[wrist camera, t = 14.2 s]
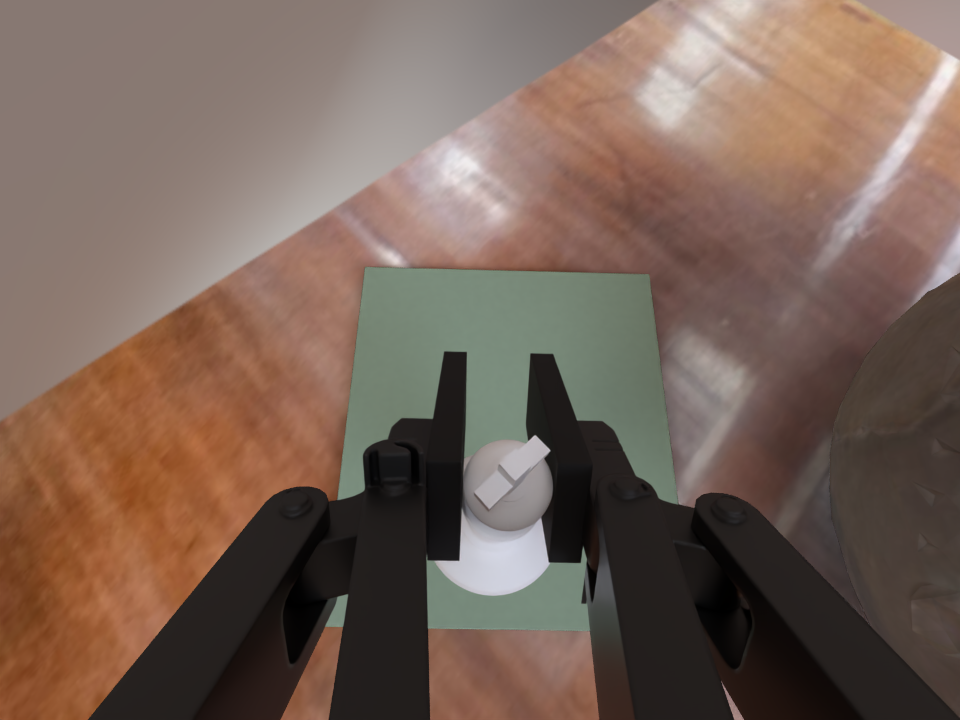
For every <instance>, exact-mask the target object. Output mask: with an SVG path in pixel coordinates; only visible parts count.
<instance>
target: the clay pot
mask: <svg viewBox="0 0 960 720" xmlns="http://www.w3.org/2000/svg"><path fill="white" fill-rule="evenodd" d="M829 490H830V503H831V516H832V521H833V524H834V528H835V531H836V534H837V538H838V541H839V544H840V548H841V551H842V554H843V558H844V561H845V564H846V568H847V571H848V575H849V578H850V581H851V583H852V586H853V588H854V590H855V592H856V595H857V597H858V599H859V601H860V604H861V606H862V608H863V610H864V613H865V615H866V617H867V619H868V621H869V624H870V626H871V627H872V628H873V629H874V630H875V631H876V632H877V633H878V634H879V635H880V636H881V637H882V638H883V639H884V640H885V642H886V643H887V644H888V645H889V646H890V647H891V648H892V649H893V650H894V651H895V652H896V653H897V654H898V655H899V656H900V657H901V658H902V659H903V660H904V661H905V662H906V663H907V664H908V665H909V666H910V667H911V668H912V669H913V670H914V671H915V672H916V673H917V674H918V675H919V676H920V677H921V679H922V680H923V681H924V682H925V683H926V684H927V685H928V686H929V687H930V688H931V689H932V690H933V691H934V692H935V693H936V694H937V695H938V696H939V697H940V698H941V699H942V700H943V701H944V702H945V703H946V704H947V705H948V706H949V707H950V708H951V709H952V710H953V711H954V712H955V713H956V715H957V716H958V717H959V718H960V273H959V274H957V275H955V276H954V277H952V278H951V279H949V280H948V281H946V282H945V283H943V284H942V285H940V286H938V287H937V288H935V289H933V290H931V291H928V292H927V293H926V294H925V295H924V296H923V297H922V298H921V299H920V300H919V301H918V302H917V303H916V304H915V305H913V306H912V307H911V308H910V309H909V310H908V311H907V312H906V313H905V314H903V315H902V316H901V317H900V318H899V319H898V320H897V321H896V322H895V323H893V324H892V325H891V326H890V327H889V329H888V330H887V331H886V332H885V333H884V335H883V336H882V337H881V338H880V339H879V341H878V342H877V343H876V344H875V345H874V347H873V348H872V349H871V350H870V352H869V353H868V354H867V356H866V357H865V359H864V361H863V363H862V365H861V367H860V369H859V370H858V371H857V373H856V375H855V377H854V379H853V381H852V383H851V385H850V387H849V389H848V391H847V393H846V395H845V397H844V399H843V401H842V403H841V405H840V407H839V410H838V414H837V417H836V420H835V424H834V430H833V436H832V443H831V449H830V483H829Z"/></svg>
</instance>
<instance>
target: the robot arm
mask: <svg viewBox="0 0 960 720" xmlns="http://www.w3.org/2000/svg"><path fill="white" fill-rule="evenodd" d="M466 382H467V352H453V351H444V355H443V361H442V367H441V373H440V379H439V385H438V391H437V397H436V403H435V409H434V415H433V419H428V418H401V419H400V420H399V421H398V422H396V423H395V424H394V425H393V426H392V427H391V430H390V433H389V436H388V439H386V440H382V441H379V442H376V443H373V444H372V445H371V446H369V447H368V448H366V450H365V452H364V453H363V468H364V483H365V489H364V491H363V492H362V493H360V494H357V495H355V496H352V497H349V498H345V499H340V500H335V501H330V502H329V501H328V498H327V495H326V494H325V493H324V492H323V491H321V490H320V489H317V488H313V487H294V488H290V489H286V490H283V491H281V492H279V493H277V494H275V495H273V496H272V497H271V498H270V499H269V500H268V501H266V502H265V504H264V505H263V506H262V507H261V509H260V510H259V511H258V512H257V513H256V515H255V516H254V517H253V518H252V520H251V521H250V522H249V523H248V524H247V526H246V527H245V528H244V529H243V531H242V532H241V533H240V534H239V535H238V537H237V538H236V539H235V540H234V542H233V543H232V544H231V545H230V546H229V548H228V549H227V550H226V551H225V553H224V554H223V555H222V556H221V557H220V559H219V560H218V561H217V562H216V564H215V565H214V566H213V567H212V568H211V570H210V571H209V572H208V573H207V575H206V576H205V577H204V578H203V579H202V581H201V582H200V583H199V584H198V586H197V587H196V588H195V589H194V591H193V592H192V593H191V594H190V595H189V597H188V598H187V599H186V600H185V602H184V603H183V604H182V605H181V606H180V608H179V609H178V610H177V611H176V613H175V614H174V615H173V616H172V617H171V619H170V620H169V621H168V622H167V624H166V625H165V626H164V627H163V628H162V630H161V631H160V632H159V633H158V635H157V636H156V637H155V638H154V639H153V641H152V642H151V643H150V644H149V646H148V647H147V648H146V649H145V650H144V652H143V653H142V654H141V655H140V657H139V658H138V659H137V660H136V661H135V663H134V664H133V665H132V666H131V668H130V669H129V670H128V671H127V672H126V674H125V675H124V676H123V677H122V679H121V680H120V681H119V682H118V683H117V685H116V686H115V687H114V688H113V690H112V691H111V692H110V693H109V694H108V696H107V697H106V698H105V699H104V701H103V702H102V703H101V704H100V706H99V707H98V708H97V709H96V710H95V712H94V713H93V714H92V715H91V717H90V718H89V719H88V720H280V719H281V717H282V715H283V713H284V711H285V709H286V707H287V705H288V703H289V701H290V699H291V697H292V694H293V692H294V690H295V688H296V686H297V684H298V682H299V680H300V678H301V676H302V674H303V671H304V669H305V667H306V665H307V663H308V661H309V659H310V657H311V655H312V653H313V651H314V649H315V646H316V644H317V642H318V640H319V638H320V636H321V634H322V632H323V630H324V628H325V626H326V624H327V621H328V619H329V617H330V615H331V613H332V611H333V609H334V607H335V605H336V601H337V597H339V596H343V595H347V594H348V599H347V605H346V612H345V618H344V625H343V631H342V638H341V644H340V651H339V657H338V663H337V670H336V676H335V683H334V689H333V696H332V702H331V709H330V715H329V720H430V697H429V651H428V604H427V560H428V561H460V540H461V518H462V489H463V474H464V452H465V430H466ZM526 431H527V437H528V441H529V440H530V439H531V438H532V437H533V436H535V435H536V436H537V437H538V438H539V439H540V440H541V441H542V442H543V443H544V444H545V445H546V446H547V447H548V448H549V449H550V450H551V451H550V452H549V454H548V455H547V456H546V457H545V458H544V459H545V461H546V462H547V464H548V466H549V469H550V471H551V475H552V479H553V493H552V498H551V501H550V504H549V506H548V508H547V510H546V511H545V513H544V514H543V516H542V517H541V520H542V526H543V532H544V538H545V543H546V549H547V555H548V561H549V563H581V558H582V550H583V547H584V551H585V554H586V558H587V562H586V570H585V578H584V585H583V593H582V601H581V604H586V602H587V607H588V616H589V626H590V635H591V645H592V654H593V664H594V673H595V683H596V692H597V702H598V711H599V720H734V718H733V715H732V712H731V709H730V706H729V703H728V700H727V697H726V694H725V691H724V689H723V686H722V683H723V685H724V686H725V688H726V690H727V691H728V693H729V695H730V696H731V698H732V700H733V701H734V703H735V705H736V706H737V708H738V710H739V712H740V713H741V715H742V717H743V718H744V720H960V718H959V717H958V716H957V715H956V713H955V712H954V711H953V710H952V709H951V708H950V707H949V706H948V705H947V704H946V703H945V702H944V701H943V700H942V699H941V698H940V697H939V696H938V695H937V694H936V693H935V692H934V691H933V690H932V689H931V688H930V687H929V686H928V685H927V684H926V683H925V682H924V681H923V680H922V679H921V677H920V676H919V675H918V674H917V673H916V672H915V671H914V670H913V669H912V668H911V667H910V666H909V665H908V664H907V663H906V662H905V661H904V660H903V659H902V658H901V657H900V656H899V655H898V654H897V653H896V652H895V651H894V650H893V649H892V648H891V647H890V646H889V645H888V644H887V643H886V642H885V640H884V639H883V638H882V637H881V636H880V635H879V634H878V633H877V632H876V631H875V630H874V629H873V628H872V627H871V626H870V625H869V624H868V623H867V622H866V621H865V620H864V619H863V618H862V617H861V616H860V615H859V614H858V613H857V612H856V611H855V610H854V609H853V608H852V607H851V606H850V604H849V603H848V602H847V601H846V600H845V599H844V598H843V597H842V596H841V595H840V594H839V593H838V592H837V591H836V590H835V589H834V588H833V587H832V586H831V585H830V584H829V583H828V582H827V581H826V580H825V579H824V578H823V577H822V576H821V575H820V574H819V573H818V572H817V571H816V570H815V569H814V567H813V566H812V565H811V564H810V563H809V562H808V561H807V560H806V559H805V558H804V557H803V556H802V555H801V554H800V553H799V552H798V551H797V550H796V549H795V548H794V547H793V546H792V545H791V544H790V543H789V542H788V541H787V540H786V539H785V538H784V537H783V536H782V535H781V534H780V533H779V531H778V530H777V529H776V528H775V527H774V526H773V525H772V524H771V523H770V522H769V521H768V520H767V519H766V518H765V517H764V516H763V515H762V514H761V513H760V512H759V511H758V510H757V509H756V508H754V507H753V506H752V505H751V504H749V503H748V502H746V501H744V500H742V499H740V498H738V497H736V496H732V495H729V494H724V493H708V494H703V495H701V496H700V497H699V498H698V499H696V504H695V508H692V507H687V506H683V505H678V504H674V503H670V502H667V501H664V500H661V499H659V498H658V495H657V493H656V491H655V489H654V488H653V486H652V485H651V484H649V483H648V482H646V481H645V480H644V479H641V478H639V477H636V475H635V473H634V471H633V469H632V467H631V464H630V462H629V460H628V458H627V456H626V454H625V452H624V451H623V448H622V446H621V444H620V443H619V439H618V437H617V435H616V433H615V431H614V430H613V429H612V428H611V427H609V426H608V425H607V424H606V423H604V422H603V421H584V420H577V418H576V416H575V413H574V410H573V407H572V405H571V402H570V399H569V396H568V394H567V391H566V388H565V385H564V382H563V380H562V377H561V374H560V371H559V369H558V366H557V363H556V360H555V357H554V355H553V354H542V353H530V367H529V382H528V397H527V412H526ZM426 557H427V558H426ZM721 681H722V683H721Z"/></svg>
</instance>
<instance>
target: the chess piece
mask: <svg viewBox="0 0 960 720" xmlns="http://www.w3.org/2000/svg"><path fill="white" fill-rule="evenodd" d="M550 451H551V450H550V449H549V448H548V447H547V446H546V445H545V444H544V443H543V442H542V441H541V440H540V439H539V438H538V437H537V436H536V435H535V436H533V437H532V438H531V439H530V440H529V441H528V442H527V443H526V444H525V443H523V442H520V441H516V440H498V441H494V442H491V443H489V444H487V445H485V446H483V447H482V448H480V449H479V450H478V451H477V452H476V453H475V454H474V455H471V456H468V457H466V458H464V474H463V489H462V518H461V540H460V561H435V563H436V565H437V566H438V567H439V569H440V570H441V571H442V572H443V574H444V575H445V576H446V577H447V578H449V579H450V580H451V581H452V582H454V583H455V584H456V585H458V586H460V587H461V588H463V589H465V590H468V591H470V592H473V593H476V594H481V595H489V596H498V595H506V594H510V593H513V592H516V591H519V590H521V589H523V588H525V587H527V586H528V585H530V584H531V583H533V582H534V581H535V580H536V579H537V578H539V577H540V576H541V575H542V574H543V572H544V571H545V570H546V569H547V567H548V566H549V564H550V563H549V561H548V555H547V549H546V543H545V538H544V532H543V526H542V520H541V517H542V516H543V514H544V513H545V511H546V510H547V508H548V506H549V504H550V501H551V498H552V493H553V479H552V475H551V471H550V469H549V466H548V464H547V462H546V461H545V459H544V458H545V457H546V456H547V455H548V454H549V452H550Z"/></svg>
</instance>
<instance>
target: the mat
mask: <svg viewBox="0 0 960 720" xmlns="http://www.w3.org/2000/svg"><path fill="white" fill-rule="evenodd" d="M444 351H453V352H467V382H466V430H465V452H464V458H466V457H468V456H471V455H474V454H475V453H476V452H477V451H478V450H479V449H480V448H482V447H483V446H485V445H487V444H489V443H491V442H494V441H498V440H516V441H520V442H523V443H525V444H526V443H527V442H528V437H527V431H526V412H527V397H528V382H529V367H530V353H542V354H553V355H554V357H555V360H556V363H557V366H558V369H559V371H560V374H561V377H562V380H563V382H564V385H565V388H566V391H567V394H568V396H569V399H570V402H571V405H572V407H573V410H574V413H575V416H576V418H577V420H584V421H603V422H604V423H606V424H607V425H608V426H609V427H611V428H612V429H613V430H614V431H615V433H616V435H617V437H618V439H619V443H620V444H621V446H622V448H623V451H624V452H625V454H626V456H627V458H628V460H629V462H630V464H631V467H632V469H633V471H634V473H635V475H636V477H639V478H641V479H644V480H645V481H646V482H648V483H649V484H651V485H652V486H653V488H654V489H655V491H656V493H657V495H658V498H659V499H661V500H664V501H667V502H670V503H674V504H678V498H677V490H676V482H675V474H674V466H673V458H672V450H671V443H670V435H669V427H668V419H667V411H666V403H665V395H664V387H663V380H662V372H661V364H660V356H659V348H658V340H657V332H656V324H655V317H654V309H653V301H652V293H651V285H650V277H649V274H619V273H580V272H541V271H503V270H464V269H425V268H386V267H365V271H364V280H363V288H362V296H361V305H360V313H359V322H358V330H357V338H356V347H355V355H354V363H353V372H352V380H351V389H350V397H349V405H348V414H347V422H346V430H345V439H344V447H343V456H342V464H341V472H340V481H339V489H338V497H337V500H340V499H345V498H349V497H352V496H355V495H357V494H360V493H362V492H363V491H364V489H365V483H364V468H363V453H364V452H365V450H366V448H368V447H369V446H371V445H372V444H373V443H376V442H379V441H382V440H386V439H388V436H389V433H390V430H391V427H392V426H393V425H394V424H395V423H396V422H398V421H399V420H400V419H401V418H428V419H433V415H434V409H435V403H436V397H437V391H438V385H439V379H440V373H441V367H442V361H443V355H444ZM426 558H427V557H426ZM586 562H587V558H586V554H585V551H584V547H583V550H582V558H581V563H550V564H549V566H548V567H547V569H546V570H545V571H544V572H543V574H542V575H541V576H540V577H539V578H537V579H536V580H535V581H534V582H533V583H531V584H530V585H528V586H527V587H525V588H523V589H521V590H519V591H516V592H513V593H510V594H506V595H498V596H489V595H481V594H476V593H473V592H470V591H468V590H465V589H463V588H461V587H460V586H458V585H456V584H455V583H454V582H452V581H451V580H450V579H449V578H447V577H446V576H445V575H444V574H443V572H442V571H441V570H440V569H439V567H438V566H437V565H436V563H435V561H428V560H427V604H428V628H438V629H498V630H558V631H590V626H589V616H588V607H587V602H586V604H581V601H582V593H583V585H584V578H585V570H586ZM347 599H348V594H347V595H343V596H339V597H337V601H336V605H335V607H334V609H333V611H332V613H331V615H330V617H329V619H328V621H327V624H326V626H325V627H343V625H344V618H345V612H346V605H347Z"/></svg>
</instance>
